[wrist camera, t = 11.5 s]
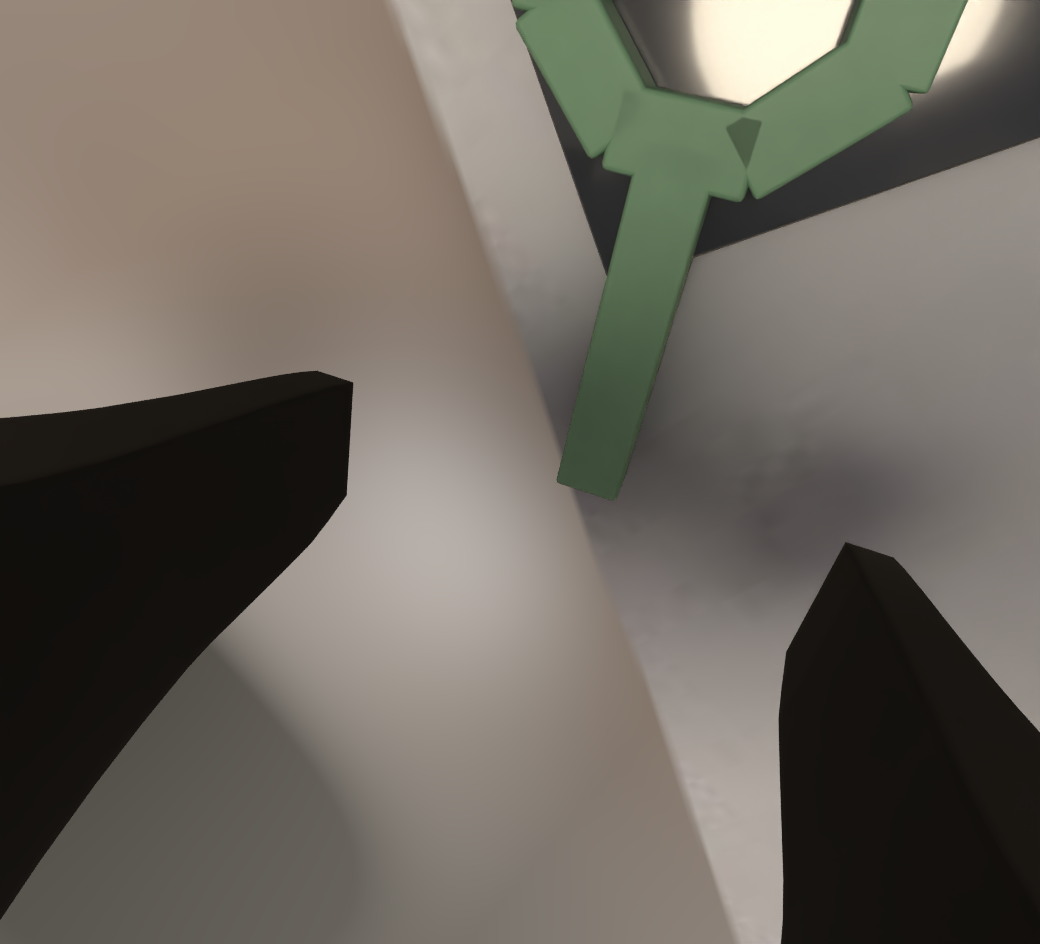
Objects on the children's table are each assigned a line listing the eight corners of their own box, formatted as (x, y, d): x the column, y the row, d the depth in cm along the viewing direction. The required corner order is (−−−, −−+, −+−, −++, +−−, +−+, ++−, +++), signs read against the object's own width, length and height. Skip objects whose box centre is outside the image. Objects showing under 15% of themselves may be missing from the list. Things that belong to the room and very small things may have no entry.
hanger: (591, -354, 9) (568, -409, 8) (1078, -299, 8) (1120, -352, 7) (467, 423, 15) (445, 447, 14) (738, 509, 14) (734, 542, 13)
